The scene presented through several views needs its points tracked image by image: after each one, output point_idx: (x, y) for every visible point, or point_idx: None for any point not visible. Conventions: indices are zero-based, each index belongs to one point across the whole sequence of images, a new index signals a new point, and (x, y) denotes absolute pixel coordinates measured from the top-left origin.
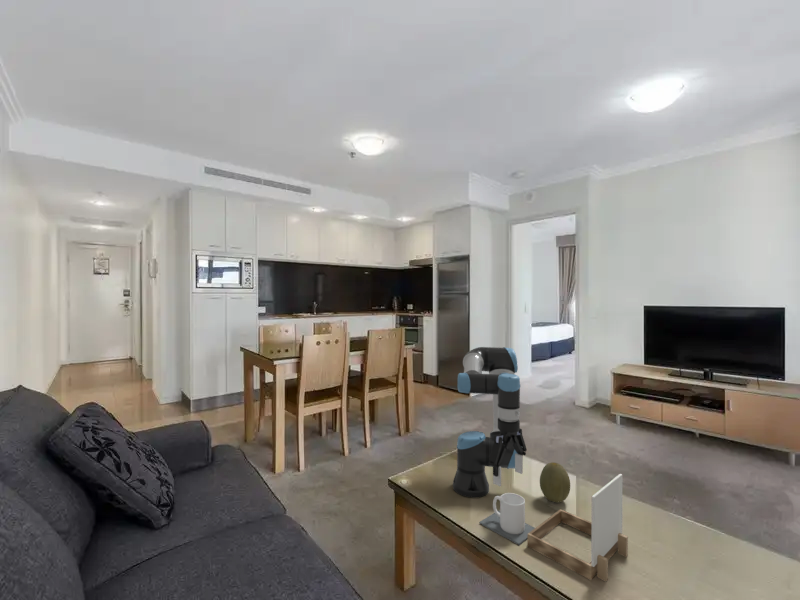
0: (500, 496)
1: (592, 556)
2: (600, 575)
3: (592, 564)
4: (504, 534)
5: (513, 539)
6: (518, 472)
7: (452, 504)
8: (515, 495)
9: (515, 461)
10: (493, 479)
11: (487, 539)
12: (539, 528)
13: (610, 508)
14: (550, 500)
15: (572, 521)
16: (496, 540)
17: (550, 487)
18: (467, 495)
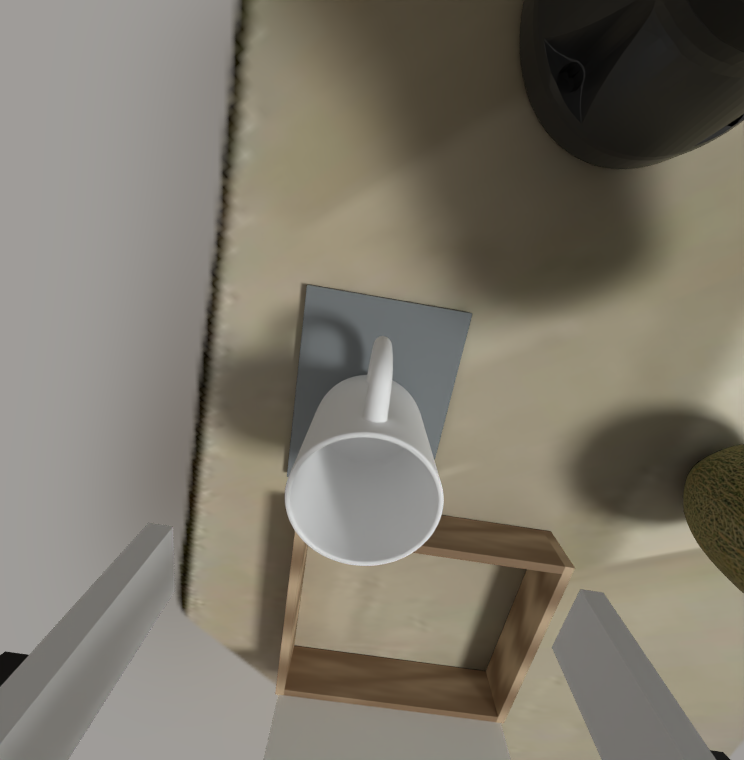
0: (338, 436)
1: (269, 735)
2: None
3: (276, 703)
4: (300, 414)
5: (295, 452)
6: (566, 624)
7: (379, 34)
8: (435, 491)
9: (673, 750)
10: (115, 564)
11: (232, 367)
12: None
13: None
14: (686, 479)
15: (535, 588)
16: (254, 398)
17: (732, 541)
18: (525, 65)
